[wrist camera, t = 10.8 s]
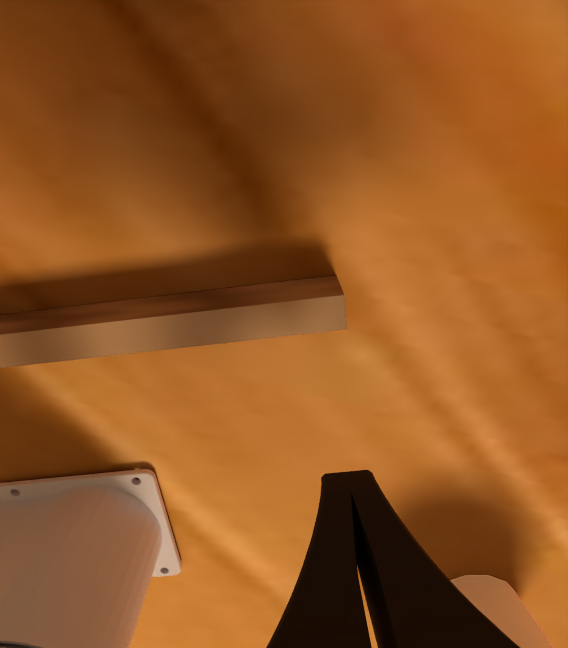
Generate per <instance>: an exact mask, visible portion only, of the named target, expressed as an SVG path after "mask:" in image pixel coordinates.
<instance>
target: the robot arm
mask: <svg viewBox="0 0 568 648" xmlns="http://www.w3.org/2000/svg"><path fill="white" fill-rule="evenodd" d="M135 478H139V479H140V480H137V479H135ZM321 482H322V485H321V496H320V503H319V508H318V514H317V518H316V522H315V526H314V530H313V534H312V538H311V541H310V545H309V548H308V551H307V554H306V557H305V560H304V563H303V566H302V569H301V572H300V575H299V577H298V580H297V583H296V585H295V588H294V590H293V593H292V595H291V597H290V600H289V602H288V604H287V607H286V609H285V611H284V613H283V615H282V617H281V620H280V622H279V624H278V626H277V628H276V630H275V632H274V634H273V636H272V638H271V640H270V642H269V644H268V646H267V647H266V648H372V647H371V642H370V637H369V632H368V627H367V621H366V616H365V611H364V606H363V600H362V595H361V590H360V584H359V579H358V571H357V566H358V570H359V574H360V578H361V582H362V586H363V590H364V594H365V598H366V602H367V606H368V610H369V614H370V617H371V621H372V625H373V629H374V633H375V637H376V641H377V645H378V648H520V647H519V646H518V645H517V644H516V643H514V642H513V641H512V640H511V639H510V638H509V637H508V636H507V635H506V634H504V633H503V632H502V631H501V630H500V629H499V628H498V627H497V626H496V625H495V624H494V623H493V622H491V621H490V620H489V619H488V618H487V617H486V616H485V615H484V614H483V613H482V612H481V611H479V610H478V609H477V608H476V607H475V606H474V605H473V604H472V603H471V602H470V601H469V600H468V599H467V598H466V597H465V596H464V595H463V594H462V593H461V592H460V591H459V590H458V588H457V587H456V586H455V585H454V584H453V583H452V582H451V581H450V580H449V579H448V578H447V577H446V576H445V574H444V573H443V572H442V571H441V570H440V569H439V568H438V567H437V565H436V564H435V563H434V562H433V561H432V560H431V558H430V557H429V556H428V555H427V554H426V552H425V551H424V550H423V549H422V547H421V546H420V545H419V544H418V542H417V541H416V540H415V539H414V537H413V536H412V535H411V533H410V532H409V531H408V529H407V528H406V526H405V525H404V524H403V522H402V521H401V520H400V518H399V517H398V515H397V514H396V513H395V511H394V510H393V508H392V507H391V505H390V503H389V502H388V500H387V499H386V497H385V496H384V494H383V492H382V491H381V489H380V487H379V485H378V484H377V482H376V480H375V478H374V476H373V474H372V472H370V471H369V470H360V471H350V472H339V473H329V474H324V475H323V476H322V477H321ZM17 490H18V491H17ZM181 568H182V563H181V560H180V557H179V553H178V550H177V546H176V543H175V540H174V536H173V533H172V530H171V526H170V523H169V519H168V516H167V513H166V509H165V506H164V503H163V499H162V496H161V492H160V489H159V486H158V482H157V479H156V476H155V474H154V472H153V471H151V470H149V469H139V470H129V471H118V472H108V473H98V474H88V475H77V476H67V477H57V478H46V479H36V480H26V481H15V482H5V483H0V648H129V646H130V643H131V640H132V637H133V634H134V631H135V627H136V624H137V621H138V618H139V615H140V612H141V609H142V606H143V602H144V599H145V596H146V593H147V590H148V587H149V584H150V580H151V577H158V576H170V575H177V574H179V573H180V571H181Z"/></svg>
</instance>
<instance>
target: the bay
mask: <svg viewBox="0 0 568 648" xmlns="http://www.w3.org/2000/svg"><path fill="white" fill-rule="evenodd" d="M346 329H347V325H346V312H345V299H344V293H343V291H342V288H341V286H340V283H339V281H338V278H337V276H336V275H333V276H324V277H316V278H307V279H299V280H290V281H282V282H274V283H265V284H257V285H248V286H240V287H231V288H223V289H214V290H206V291H197V292H189V293H180V294H172V295H164V296H155V297H147V298H138V299H130V300H121V301H113V302H104V303H96V304H87V305H79V306H70V307H62V308H54V309H45V310H37V311H28V312H20V313H11V314H3V315H0V368H5V367H14V366H23V365H32V364H40V363H49V362H58V361H67V360H76V359H85V358H94V357H103V356H112V355H121V354H130V353H139V352H148V351H157V350H166V349H175V348H184V347H193V346H202V345H211V344H220V343H229V342H238V341H247V340H256V339H265V338H274V337H283V336H292V335H301V334H310V333H319V332H328V331H337V330H346Z"/></svg>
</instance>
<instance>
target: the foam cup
mask: <svg viewBox="0 0 568 648" xmlns="http://www.w3.org/2000/svg"><path fill="white" fill-rule="evenodd" d="M450 581H451V582H452V583H453V584H454V585H455V586H456V587H457V588H458V590H459V591H460V592H461V593H462V594H463V595H464V596H465V597H466V598H467V599H468V600H469V601H470V602H471V603H472V604H473V605H474V606H475V607H476V608H477V609H478V610H479V611H481V612H482V613H483V614H484V615H485V616H486V617H487V618H488V619H489V620H490V621H491V622H493V623H494V624H495V625H496V626H497V627H498V628H499V629H500V630H501V631H502V632H503V633H504V634H506V635H507V636H508V637H509V638H510V639H511V640H512V641H513V642H514V643H516V644H517V645H518V646H519V647H520V648H554V646H553V645H552V643H551V642H550V640H549V639H548V637H547V636H546V634H545V633H544V632H543V630H542V629H541V627H540V626H539V624H538V623H537V621H536V620H535V618H534V617H533V616H532V614H531V613H530V611H529V610H528V608H527V607H526V605H525V604H524V602H523V601H522V600H521V599H520V598H519V596H518V594H517V593H516V592H515V591H514V589H513V588H512V587H511V586H510V585H509V584H508V583H507V582H506V581H504V580H501V579H498V578H495V577H493V576H490V575H464V576H461V577H458V578H455V579H452V580H450Z"/></svg>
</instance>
